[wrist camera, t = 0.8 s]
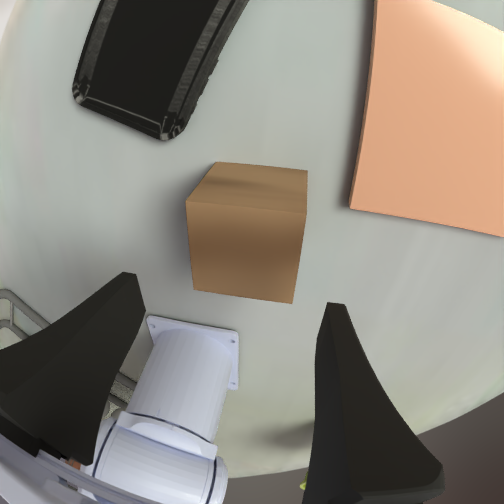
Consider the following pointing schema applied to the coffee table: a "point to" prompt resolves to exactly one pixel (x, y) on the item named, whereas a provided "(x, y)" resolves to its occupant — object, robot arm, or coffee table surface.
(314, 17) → the coffee table surface
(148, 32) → the phone
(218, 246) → the walnut cube
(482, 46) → the terracotta tile
